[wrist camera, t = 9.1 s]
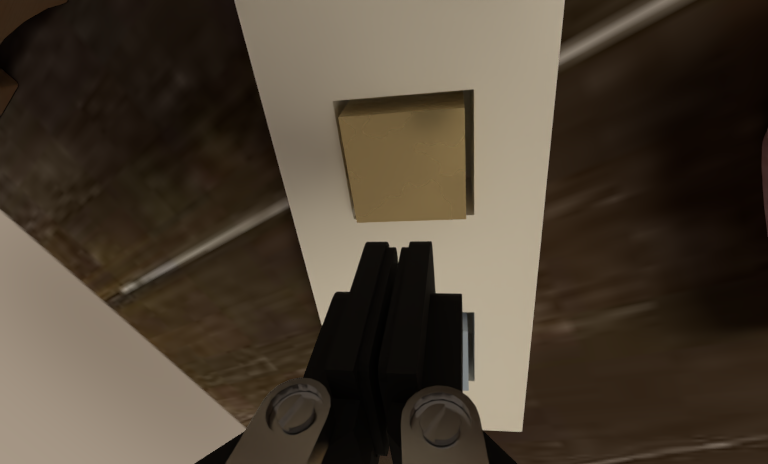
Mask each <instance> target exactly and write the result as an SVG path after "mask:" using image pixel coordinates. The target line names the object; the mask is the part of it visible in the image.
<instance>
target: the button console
mask: <svg viewBox="0 0 768 464" xmlns="http://www.w3.org/2000/svg"><path fill="white" fill-rule="evenodd" d="M234 1H235V5H236V9H237V13H238V16H239V20H240V24H241V27H242V31H243V35H244V39H245V42H246V46H247V50H248V53H249V57H250V61H251V65H252V68H253V72H254V76H255V79H256V83H257V87H258V91H259V94H260V98H261V102H262V105H263V109H264V113H265V117H266V120H267V124H268V128H269V131H270V135H271V139H272V143H273V146H274V150H275V154H276V157H277V161H278V165H279V168H280V172H281V176H282V180H283V183H284V187H285V191H286V194H287V198H288V202H289V206H290V209H291V213H292V217H293V220H294V224H295V228H296V232H297V235H298V239H299V243H300V246H301V250H302V254H303V258H304V261H305V265H306V269H307V272H308V276H309V280H310V284H311V287H312V291H313V295H314V298H315V302H316V306H317V309H318V313H319V317H320V321H321V324H322V325H323V322H324V319H325V317H326V314H327V311H328V308H329V306H330V303H331V300H332V298H333V296H334V294H335V293H336V292H350V289H351V286H352V283H353V280H354V277H355V274H356V271H357V267H358V264H359V261H360V258H361V255H362V252H363V249H364V246H365V243H366V242H388V243H389V247H396V249H397V256H398V262H399V257H400V252H401V248H402V247H409V243H410V241H431V242H432V248H433V262H434V277H435V291H436V293H455V294H462V312H467V325H468V381H469V391H463V393H464V394H465V395H467V396H468V397H469V398H470V399H471V401H472V402H473V403H474V404H475V406H476V408H477V411H478V413H479V416H480V421H481V426H482V430H493V431H514V432H522V426H523V416H524V406H525V396H526V386H527V375H528V365H529V355H530V345H531V335H532V325H533V315H534V305H535V295H536V285H537V275H538V265H539V255H540V245H541V235H542V224H543V214H544V204H545V194H546V184H547V174H548V164H549V154H550V144H551V134H552V124H553V114H554V104H555V94H556V84H557V73H558V63H559V53H560V43H561V33H562V23H563V13H564V3H565V0H234ZM459 90H463V97H464V106H465V167H466V219H457V220H427V221H396V222H366V223H357V221H356V215H355V210H354V204H353V198H352V193H351V187H350V181H349V176H348V170H347V164H346V159H345V153H344V147H343V142H342V136H341V130H340V125H339V119H338V117H339V115H340V114H341V112H342V111H343V109H344V108H345V106H346V105H347V103H348V102H349V100H350V99H362V98H375V97H387V96H399V95H411V94H423V93H435V92H447V91H459Z"/></svg>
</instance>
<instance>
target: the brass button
mask: <svg viewBox="0 0 768 464" xmlns="http://www.w3.org/2000/svg"><path fill="white" fill-rule="evenodd" d="M338 119H339V125H340V130H341V136H342V142H343V147H344V153H345V159H346V164H347V170H348V176H349V181H350V187H351V193H352V198H353V204H354V210H355V215H356V221H357V223H366V222H396V221H427V220H457V219H466V167H465V106H464V97H463V90H459V91H447V92H435V93H423V94H411V95H399V96H387V97H375V98H362V99H350V100H349V102H348V103H347V105H346V106H345V108H344V109H343V111H342V112H341V114H340V115H339V117H338Z"/></svg>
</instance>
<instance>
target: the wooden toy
mask: <svg viewBox="0 0 768 464" xmlns="http://www.w3.org/2000/svg"><path fill="white" fill-rule="evenodd" d="M67 1H68V0H0V44H1V42H2V41H3V40H4V39H5V38H6V37H7V36H8V35H9V34H10V33H11V32H13V31H14V30H15V29H16V28H17V27H18V26H20V25H21V24H22V23H23V22H24V21H26V20H28V19H30V18H31V17H33V16H35V15H37V14H38V13H40V12H42V11H43V10H45V9H47V8H50V7H54V6H57V5H60V4H64V3H66V2H67ZM17 87H18V83H17V82H16V81H15V80H14V79H13V78H12V77H10V76H9V75H8V74H7V73H6V72H5V71H3V70H2V69H1V68H0V116H1V115H2V113H3V111H4V109H5V108H6V106H7V104H8V103H9V101H10V99H11V97H12V96H13V94H14V92H15V90H16V89H17Z"/></svg>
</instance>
